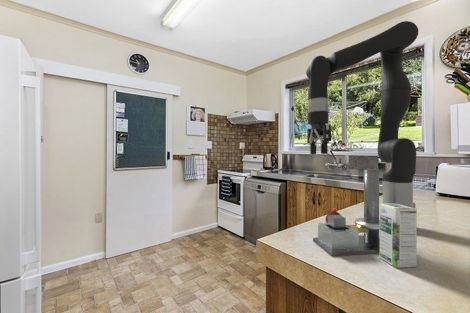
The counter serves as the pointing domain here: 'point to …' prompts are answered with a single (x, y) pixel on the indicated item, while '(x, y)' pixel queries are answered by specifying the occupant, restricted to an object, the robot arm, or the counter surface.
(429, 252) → the counter surface
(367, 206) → the bracket stand
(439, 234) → the counter surface
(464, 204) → the counter surface
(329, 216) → the grey rectangular block
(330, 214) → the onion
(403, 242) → the syrup box
